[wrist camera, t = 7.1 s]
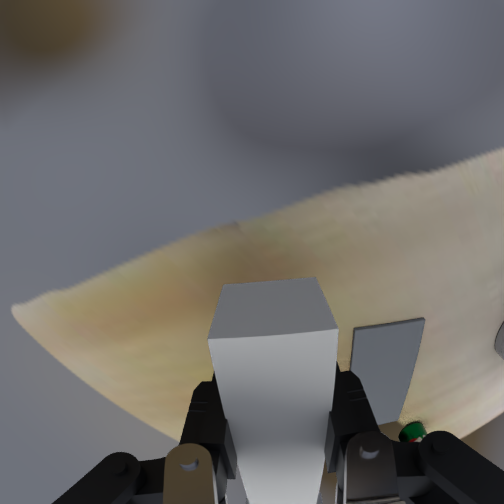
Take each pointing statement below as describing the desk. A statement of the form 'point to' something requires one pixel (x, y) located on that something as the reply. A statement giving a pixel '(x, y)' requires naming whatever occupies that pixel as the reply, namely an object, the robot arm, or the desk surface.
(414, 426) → the soda can
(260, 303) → the white square rod
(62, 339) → the desk surface
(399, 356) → the mat
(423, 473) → the robot arm
